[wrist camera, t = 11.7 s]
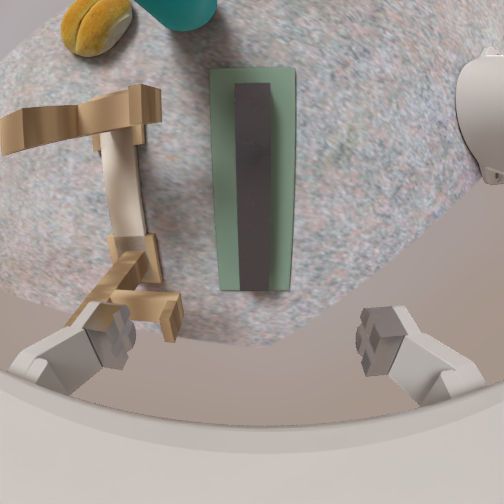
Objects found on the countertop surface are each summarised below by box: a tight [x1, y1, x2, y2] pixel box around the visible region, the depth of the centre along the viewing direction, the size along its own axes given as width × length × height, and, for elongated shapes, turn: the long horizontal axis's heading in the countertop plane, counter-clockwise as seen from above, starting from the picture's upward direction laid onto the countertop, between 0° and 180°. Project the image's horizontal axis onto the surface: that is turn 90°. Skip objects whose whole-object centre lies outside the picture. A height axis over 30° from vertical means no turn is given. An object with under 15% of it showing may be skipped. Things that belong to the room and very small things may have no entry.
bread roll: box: [61, 0, 132, 57], centre depth 18 cm, size 8×9×4 cm
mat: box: [210, 67, 295, 290], centre depth 28 cm, size 8×24×1 cm, turn 1°
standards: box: [0, 84, 184, 343], centre depth 21 cm, size 11×22×16 cm, turn 1°
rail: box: [234, 83, 271, 291], centre depth 26 cm, size 3×20×3 cm, turn 0°
